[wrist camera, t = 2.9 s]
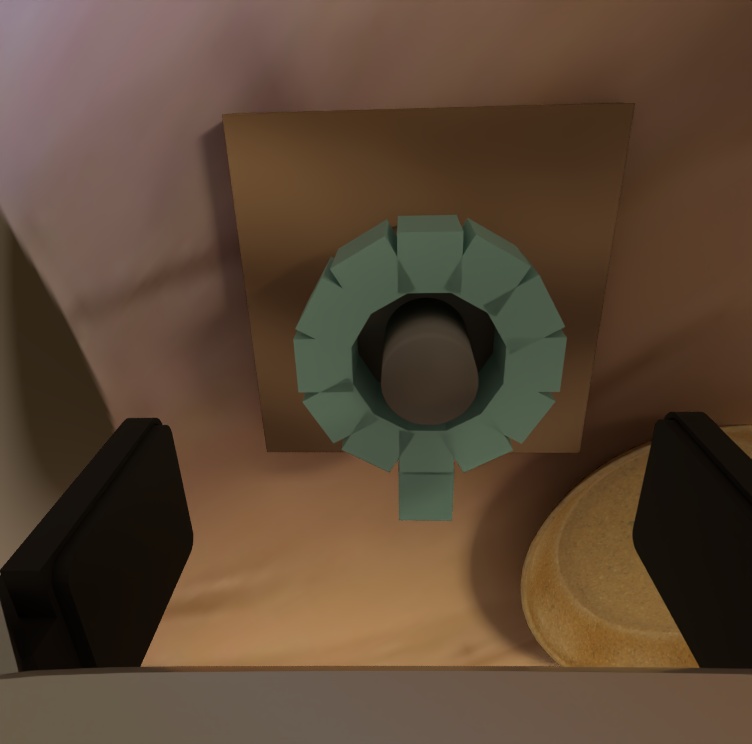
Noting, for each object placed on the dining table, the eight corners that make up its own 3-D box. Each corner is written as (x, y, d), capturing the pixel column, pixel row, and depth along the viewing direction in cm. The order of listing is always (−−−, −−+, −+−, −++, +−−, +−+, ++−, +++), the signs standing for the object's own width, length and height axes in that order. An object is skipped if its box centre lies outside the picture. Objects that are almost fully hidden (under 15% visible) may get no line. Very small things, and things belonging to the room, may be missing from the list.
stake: (233, 113, 18) (141, 125, 12) (620, 102, 17) (743, 109, 11) (273, 435, 23) (225, 562, 17) (571, 435, 23) (634, 567, 16)
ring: (296, 217, 15) (282, 234, 14) (560, 213, 15) (581, 229, 13) (319, 479, 19) (311, 519, 17) (529, 480, 19) (542, 521, 17)
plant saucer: (480, 632, 28) (487, 681, 26) (558, 368, 22) (576, 402, 19) (772, 667, 28) (805, 719, 26) (936, 416, 22) (999, 455, 20)
